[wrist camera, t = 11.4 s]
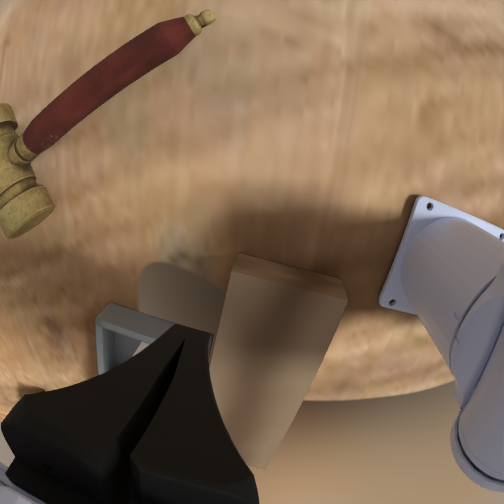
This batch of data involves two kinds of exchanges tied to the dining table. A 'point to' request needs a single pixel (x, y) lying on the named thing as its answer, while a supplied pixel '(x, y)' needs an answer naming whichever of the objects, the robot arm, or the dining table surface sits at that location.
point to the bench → (270, 349)
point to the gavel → (77, 116)
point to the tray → (125, 334)
